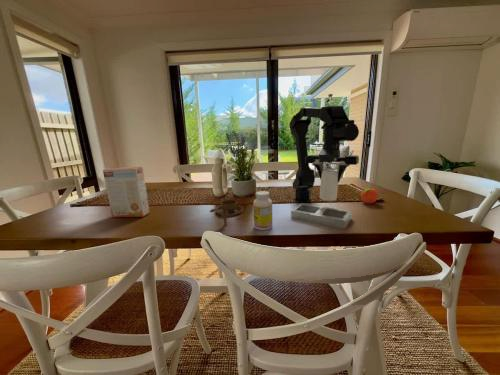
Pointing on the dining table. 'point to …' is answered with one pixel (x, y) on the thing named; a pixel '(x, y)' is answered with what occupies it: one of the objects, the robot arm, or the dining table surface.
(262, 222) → the supplement bottle
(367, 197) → the clementine
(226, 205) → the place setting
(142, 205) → the cracker box
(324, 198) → the can
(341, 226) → the grey compartment tray
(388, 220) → the dining table surface
